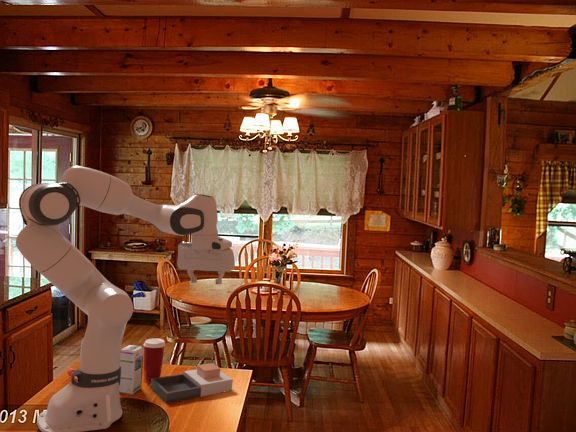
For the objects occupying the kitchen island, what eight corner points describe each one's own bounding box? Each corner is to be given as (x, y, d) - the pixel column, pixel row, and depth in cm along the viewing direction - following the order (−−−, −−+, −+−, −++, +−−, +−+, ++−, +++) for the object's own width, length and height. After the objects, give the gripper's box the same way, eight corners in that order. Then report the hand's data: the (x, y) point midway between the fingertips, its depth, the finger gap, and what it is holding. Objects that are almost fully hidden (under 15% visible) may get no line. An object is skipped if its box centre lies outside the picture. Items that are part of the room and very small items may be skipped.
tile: (204, 379, 161) (204, 370, 161) (196, 373, 166) (197, 365, 166) (219, 376, 165) (220, 368, 165) (211, 371, 170) (212, 363, 170)
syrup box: (132, 394, 154) (135, 351, 154) (116, 392, 155) (119, 348, 155) (141, 388, 159) (144, 346, 159) (125, 385, 161) (128, 344, 160)
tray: (166, 403, 149) (166, 393, 149) (150, 387, 161) (151, 378, 160) (200, 396, 156) (201, 387, 156) (183, 382, 168) (184, 373, 168)
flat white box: (200, 396, 156) (201, 384, 156) (183, 382, 168) (184, 371, 168) (231, 390, 164) (232, 379, 163) (213, 377, 175) (214, 366, 175)
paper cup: (167, 379, 169) (170, 341, 169) (151, 385, 163) (153, 345, 162) (152, 373, 173) (155, 336, 173) (135, 379, 167) (138, 340, 167)
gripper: (172, 242, 157) (174, 283, 158) (227, 244, 150) (229, 287, 151) (182, 240, 163) (184, 279, 164) (236, 242, 156) (237, 282, 157)
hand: (206, 283), depth 158 cm, fingers open, 8 cm apart
